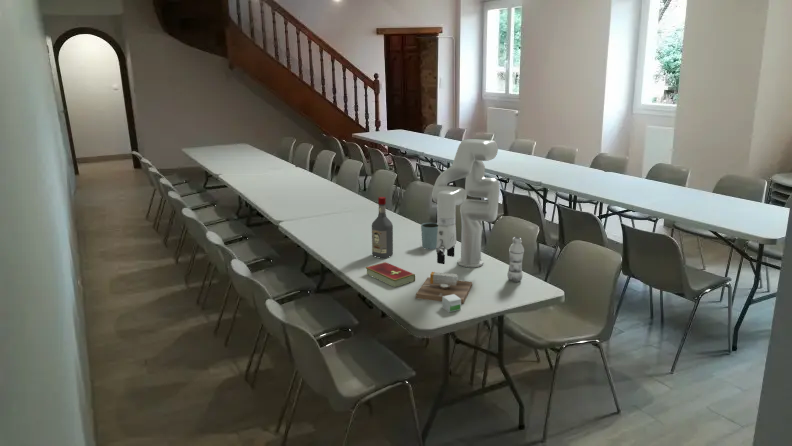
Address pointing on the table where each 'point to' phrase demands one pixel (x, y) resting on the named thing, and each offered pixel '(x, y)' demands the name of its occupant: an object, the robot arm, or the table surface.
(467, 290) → the wooden cutting board
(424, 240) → the teal cup
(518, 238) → the plastic bottle
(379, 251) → the liquor
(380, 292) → the table surface
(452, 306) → the small box
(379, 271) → the hardcover book
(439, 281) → the white and orange box
